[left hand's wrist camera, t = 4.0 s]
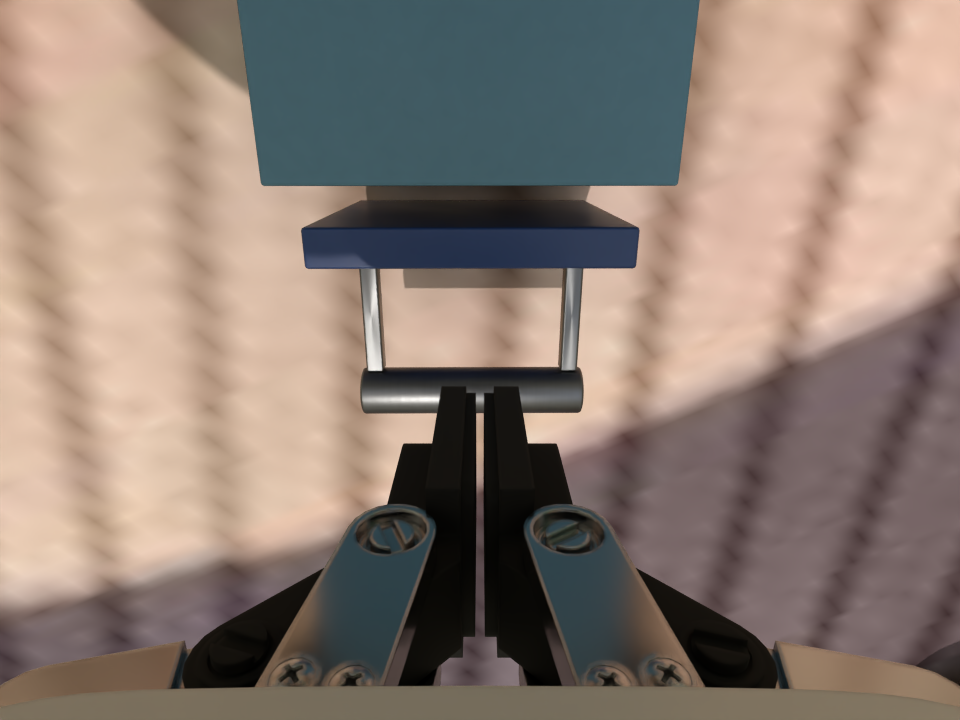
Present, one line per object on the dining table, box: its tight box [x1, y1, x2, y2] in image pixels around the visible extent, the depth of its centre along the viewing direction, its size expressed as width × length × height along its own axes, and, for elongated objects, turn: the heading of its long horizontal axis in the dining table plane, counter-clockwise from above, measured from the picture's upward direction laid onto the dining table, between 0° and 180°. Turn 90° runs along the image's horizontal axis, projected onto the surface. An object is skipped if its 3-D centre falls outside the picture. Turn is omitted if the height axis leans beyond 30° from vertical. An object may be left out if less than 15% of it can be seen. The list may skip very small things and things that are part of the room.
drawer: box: [301, 200, 639, 413], centre depth 20 cm, size 18×10×9 cm, turn 0°
